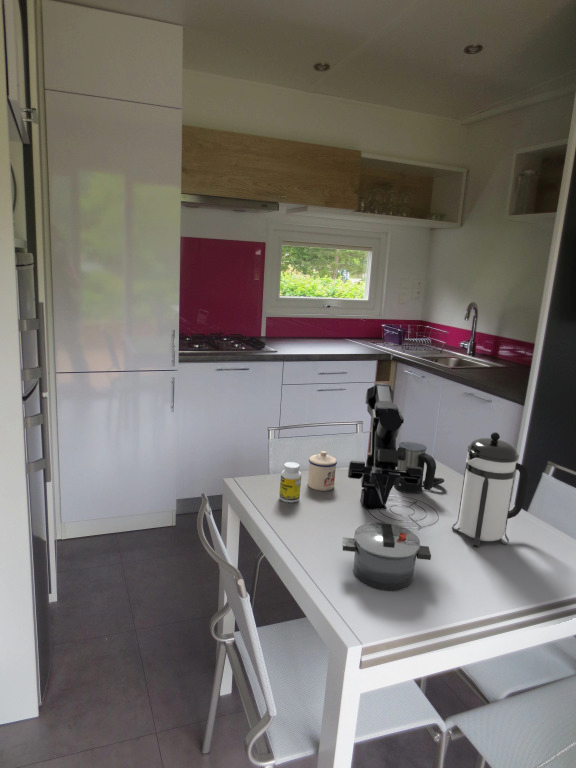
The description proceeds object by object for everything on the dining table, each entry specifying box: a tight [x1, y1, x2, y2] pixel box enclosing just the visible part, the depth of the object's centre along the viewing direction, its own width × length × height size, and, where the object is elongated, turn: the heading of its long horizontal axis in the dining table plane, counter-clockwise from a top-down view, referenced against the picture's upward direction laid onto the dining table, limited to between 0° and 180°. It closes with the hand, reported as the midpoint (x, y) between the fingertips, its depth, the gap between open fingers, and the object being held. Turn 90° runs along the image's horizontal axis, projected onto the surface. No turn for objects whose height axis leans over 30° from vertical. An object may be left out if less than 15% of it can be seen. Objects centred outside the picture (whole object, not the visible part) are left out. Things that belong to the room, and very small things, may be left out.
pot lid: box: [353, 521, 421, 559], centre depth 125 cm, size 15×15×2 cm
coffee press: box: [451, 432, 529, 549], centre depth 146 cm, size 17×16×30 cm
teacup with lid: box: [307, 450, 338, 492], centre depth 176 cm, size 12×9×12 cm
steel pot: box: [342, 537, 432, 592], centre depth 126 cm, size 15×20×8 cm
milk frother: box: [393, 441, 445, 494], centre depth 179 cm, size 14×16×15 cm
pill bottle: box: [279, 461, 302, 504], centre depth 163 cm, size 6×6×11 cm
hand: (384, 504), depth 136 cm, fingers closed
